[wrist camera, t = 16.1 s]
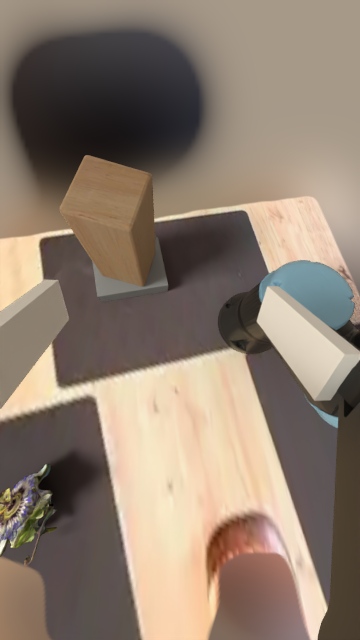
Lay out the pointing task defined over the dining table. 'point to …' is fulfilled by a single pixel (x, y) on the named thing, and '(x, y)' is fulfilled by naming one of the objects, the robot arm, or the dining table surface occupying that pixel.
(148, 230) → the wooden block
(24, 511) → the passion flower
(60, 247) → the dining table surface
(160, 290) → the plinth
